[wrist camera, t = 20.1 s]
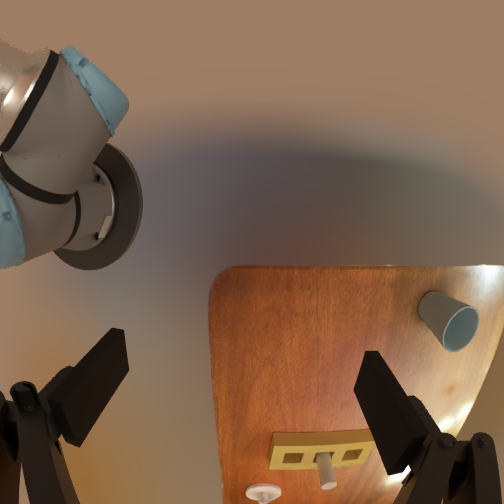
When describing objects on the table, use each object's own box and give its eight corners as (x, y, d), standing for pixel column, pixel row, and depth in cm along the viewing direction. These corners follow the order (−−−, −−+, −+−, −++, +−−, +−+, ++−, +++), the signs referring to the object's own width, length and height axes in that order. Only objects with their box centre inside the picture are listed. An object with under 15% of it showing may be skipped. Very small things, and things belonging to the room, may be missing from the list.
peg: (312, 448, 51) (319, 490, 40) (315, 440, 51) (323, 483, 39) (325, 448, 51) (334, 488, 40) (328, 440, 51) (338, 481, 39)
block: (360, 452, 52) (364, 464, 48) (268, 456, 52) (268, 469, 48) (372, 428, 50) (377, 440, 46) (273, 431, 50) (274, 445, 46)
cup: (452, 290, 43) (486, 311, 33) (436, 327, 45) (465, 354, 34) (424, 280, 43) (457, 302, 33) (406, 320, 44) (435, 349, 34)
